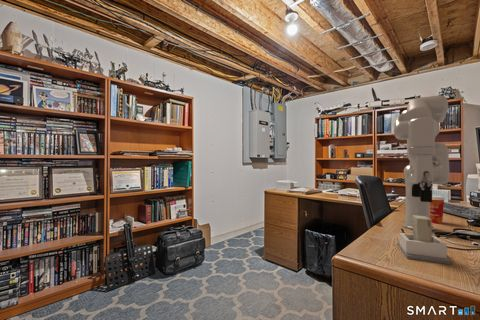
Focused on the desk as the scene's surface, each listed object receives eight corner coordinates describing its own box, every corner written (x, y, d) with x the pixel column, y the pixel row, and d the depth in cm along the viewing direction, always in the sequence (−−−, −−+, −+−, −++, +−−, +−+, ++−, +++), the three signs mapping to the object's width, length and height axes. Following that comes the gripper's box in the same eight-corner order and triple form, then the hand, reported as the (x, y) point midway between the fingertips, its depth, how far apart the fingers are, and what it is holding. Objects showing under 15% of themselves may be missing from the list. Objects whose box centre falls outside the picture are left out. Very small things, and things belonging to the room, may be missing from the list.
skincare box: (432, 255, 81) (432, 219, 81) (417, 253, 83) (417, 218, 82) (426, 248, 87) (426, 215, 87) (412, 246, 88) (412, 214, 88)
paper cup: (422, 220, 129) (422, 195, 129) (435, 220, 130) (435, 195, 130) (435, 224, 121) (435, 197, 121) (449, 224, 122) (449, 197, 122)
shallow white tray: (397, 244, 93) (397, 230, 93) (434, 248, 89) (434, 234, 89) (407, 258, 80) (407, 242, 80) (451, 264, 76) (451, 247, 76)
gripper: (402, 152, 94) (402, 194, 94) (416, 152, 78) (416, 203, 78) (425, 152, 91) (425, 195, 91) (444, 151, 75) (444, 204, 75)
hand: (421, 199), depth 85 cm, fingers open, 9 cm apart
